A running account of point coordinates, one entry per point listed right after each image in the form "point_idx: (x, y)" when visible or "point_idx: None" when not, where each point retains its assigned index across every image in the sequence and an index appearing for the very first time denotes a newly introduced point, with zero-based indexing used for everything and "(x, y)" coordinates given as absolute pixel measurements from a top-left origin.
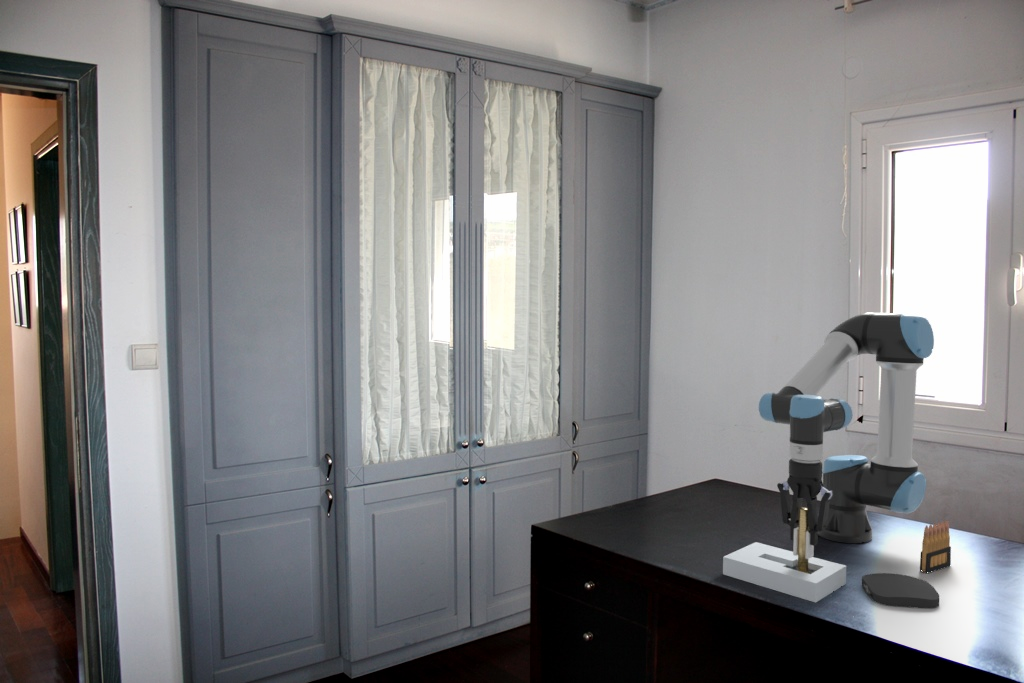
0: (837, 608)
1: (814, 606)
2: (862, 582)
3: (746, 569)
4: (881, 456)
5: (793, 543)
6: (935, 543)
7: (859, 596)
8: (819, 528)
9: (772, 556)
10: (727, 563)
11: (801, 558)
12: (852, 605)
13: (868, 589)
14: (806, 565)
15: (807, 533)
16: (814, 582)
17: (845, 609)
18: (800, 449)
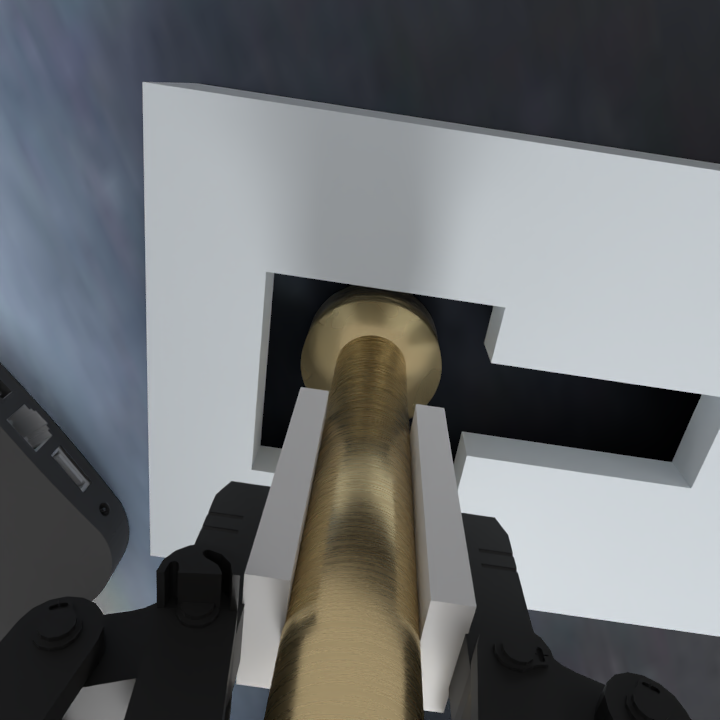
0: (51, 79)
1: (174, 4)
2: (99, 504)
3: None
4: None
5: (454, 472)
6: None
7: (57, 357)
8: (39, 634)
9: (625, 474)
10: None
11: (366, 393)
12: (15, 196)
13: (10, 413)
14: (334, 383)
15: (271, 561)
16: (162, 97)
17: (9, 97)
18: None
